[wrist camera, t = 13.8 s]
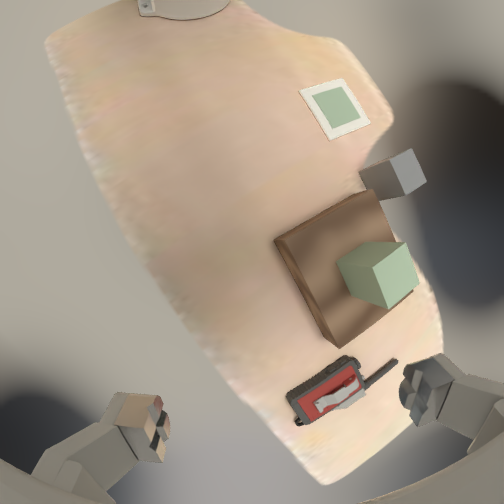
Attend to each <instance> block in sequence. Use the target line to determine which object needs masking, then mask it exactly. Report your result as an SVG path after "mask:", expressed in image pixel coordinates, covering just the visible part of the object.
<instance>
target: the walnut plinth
mask: <svg viewBox="0 0 504 504" xmlns="http://www.w3.org/2000/svg"><path fill="white" fill-rule="evenodd" d="M274 242H275V244H276V245H277V247H278V249H279V251H280V253H281V255H282V257H283V259H284V261H285V262H286V264H287V266H288V268H289V270H290V272H291V274H292V276H293V278H294V280H295V281H296V283H297V285H298V287H299V289H300V291H301V293H302V295H303V297H304V299H305V301H306V303H307V305H308V307H309V308H310V310H311V312H312V314H313V316H314V318H315V320H316V322H317V324H318V326H319V328H320V330H321V332H322V334H323V336H324V338H326V339H327V340H328V341H330V342H331V343H332V344H333V345H335V346H336V347H337V348H339V349H340V348H342V347H343V346H344V345H346V344H347V343H349V342H350V341H351V340H353V339H354V338H356V337H357V336H358V335H360V334H361V333H362V332H364V331H365V330H366V329H368V328H369V327H370V326H372V325H373V324H374V323H376V322H377V321H378V320H379V319H381V318H382V317H383V316H385V315H386V314H387V313H388V312H389V311H391V310H392V309H393V308H394V307H396V306H397V305H398V304H399V303H400V302H402V301H403V300H404V299H405V298H406V297H407V296H409V295H410V294H411V293H412V292H413V289H412V290H411V291H410V292H409V293H408V294H407V295H405V296H404V297H403V298H402V299H401V300H400V301H398V302H397V303H396V304H395V305H394V306H392V307H391V308H390V309H386V308H383V307H380V306H378V305H375V304H372V303H370V302H367V301H364V300H361V299H359V298H356V297H353V296H351V294H350V291H349V289H348V287H347V285H346V283H345V280H344V278H343V276H342V274H341V272H340V270H339V267H338V265H337V263H336V261H337V260H339V259H341V258H342V257H344V256H345V255H347V254H348V253H350V252H351V251H353V250H354V249H356V248H357V247H359V246H360V245H362V244H363V243H365V242H396V241H395V238H394V236H393V233H392V231H391V228H390V226H389V224H388V221H387V219H386V217H385V214H384V212H383V210H382V208H381V206H380V203H379V201H378V199H377V197H376V194H375V192H374V190H373V189H370V190H366V191H363V192H359V193H356V194H353V195H351V196H350V197H348V198H346V199H344V200H343V201H341V202H339V203H337V204H336V205H334V206H332V207H330V208H329V209H327V210H325V211H323V212H322V213H320V214H318V215H316V216H315V217H313V218H311V219H309V220H308V221H306V222H304V223H302V224H301V225H299V226H297V227H295V228H294V229H292V230H290V231H288V232H287V233H285V234H283V235H281V236H280V237H278V238H276V239H274Z"/></svg>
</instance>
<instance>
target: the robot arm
mask: <svg viewBox="0 0 504 504" xmlns="http://www.w3.org/2000/svg"><path fill="white" fill-rule="evenodd" d="M229 1H230V0H137V2H138V7H139V13H140V15H141V16H161V17H165V18H169V19H177V20H188V19H197V18H202V17H206V16H209V15H212V14H214V13H217V12H218V11H220V10H222V9H223V8H224V7H226V6H227V4H228V3H229ZM403 375H404V377H405V379H404V380H403V381H402V382H401V384H400V388H399V398H400V401H401V404H402V405H403V407H404V408H406V409H409V410H410V415H409V416H410V417H411V419H412V420H413V422H414V423H415V425H416V426H417V427H420V426H422V425H425V424H427V423H430V422H432V421H435V420H437V421H438V422H440V423H442V424H443V425H445V426H447V427H449V428H451V429H453V430H455V431H457V432H459V433H461V434H463V435H465V436H467V437H469V438H471V439H473V440H474V441H473V442H472V444H471V445H470V447H469V449H468V451H467V453H468V456H466V457H464V458H463V459H461V460H460V461H458V462H456V463H454V464H452V465H450V466H449V467H447V468H445V469H443V470H441V471H439V472H437V473H435V474H433V475H431V476H429V477H427V478H425V479H423V480H420V481H419V482H416V483H414V484H412V485H409V486H407V487H404V488H402V489H399V490H397V491H394V492H391V493H389V494H386V495H383V496H380V497H377V498H374V499H371V500H368V501H365V502H361V503H358V504H504V383H501V382H497V381H493V380H489V379H486V378H481V377H478V376H475V375H471V374H468V375H465V374H464V373H463V372H462V371H461V370H460V369H459V368H458V367H457V366H456V365H455V364H454V363H453V362H452V361H451V360H450V359H448V358H447V357H446V356H445V355H444V354H442V353H439V354H436V355H434V356H431V357H429V358H426V359H423V360H420V361H417V362H413V363H410V364H407V365H406V367H405V368H404V371H403ZM162 407H163V402H162V400H161V397H160V396H158V395H146V394H134V393H122V392H117V393H115V394H114V396H113V398H112V400H111V401H110V403H109V405H108V407H107V409H106V411H105V413H104V415H103V417H102V418H101V421H100V422H99V423H93V424H92V425H90V426H88V427H87V428H85V429H83V430H81V431H80V432H78V433H76V434H74V435H72V436H71V437H69V438H67V439H65V440H64V441H62V442H60V443H58V444H56V445H54V446H52V447H51V448H49V449H47V450H45V452H44V454H43V455H42V457H41V459H40V460H39V462H38V464H37V465H36V467H35V469H34V471H33V473H32V474H31V475H28V474H26V473H25V472H23V471H21V470H19V469H17V468H15V467H14V466H12V465H10V464H8V463H6V462H5V461H3V460H2V459H0V504H116V503H115V501H114V500H113V499H112V498H111V497H110V496H109V495H108V494H107V493H106V491H107V490H108V489H109V488H110V487H112V486H113V485H114V484H115V483H116V482H117V481H118V480H119V479H120V478H122V477H123V476H124V475H125V474H126V473H127V472H128V471H129V470H130V469H131V468H132V467H134V466H135V465H136V464H137V463H138V462H139V461H147V462H158V463H163V459H164V454H165V451H166V447H165V445H164V442H165V441H166V440H167V439H169V434H170V422H169V417H168V415H167V413H166V412H165V411H163V410H162Z"/></svg>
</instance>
